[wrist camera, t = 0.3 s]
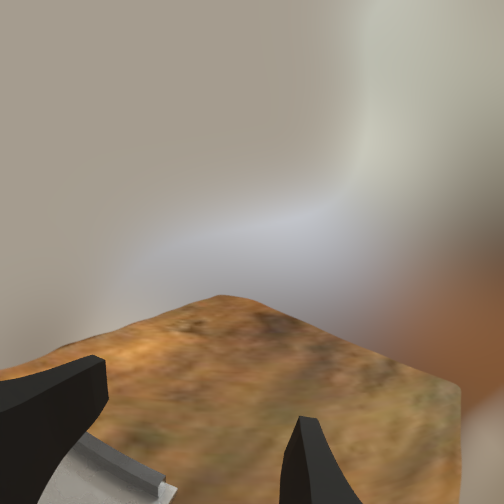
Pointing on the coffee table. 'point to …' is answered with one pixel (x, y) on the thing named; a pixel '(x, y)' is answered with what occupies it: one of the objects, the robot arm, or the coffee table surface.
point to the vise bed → (104, 478)
